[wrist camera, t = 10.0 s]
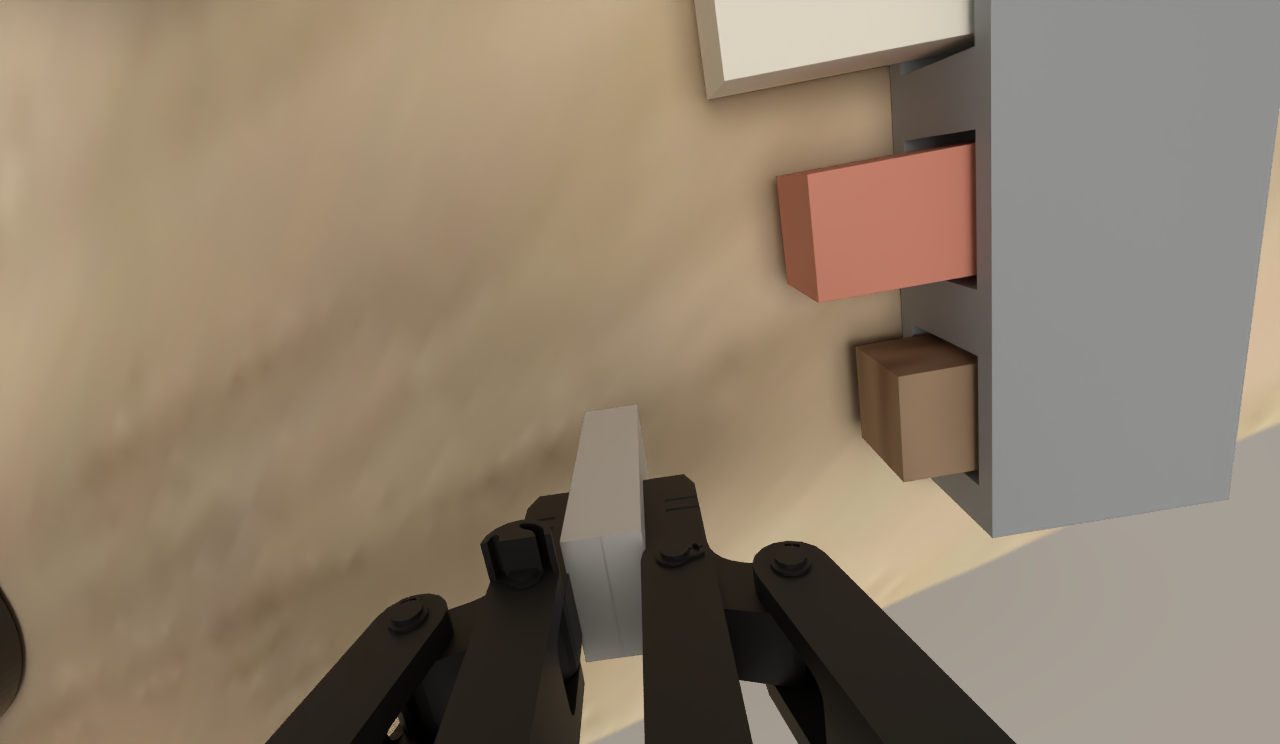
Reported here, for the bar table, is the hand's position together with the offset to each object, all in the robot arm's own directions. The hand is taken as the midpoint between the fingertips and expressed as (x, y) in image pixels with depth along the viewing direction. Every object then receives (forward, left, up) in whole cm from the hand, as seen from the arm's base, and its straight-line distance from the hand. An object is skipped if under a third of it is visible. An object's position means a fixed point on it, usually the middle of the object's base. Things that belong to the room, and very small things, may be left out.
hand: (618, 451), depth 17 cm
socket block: (+16, +5, -9) cm, 19 cm away
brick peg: (+11, +5, -7) cm, 14 cm away
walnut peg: (+14, -3, -7) cm, 16 cm away
